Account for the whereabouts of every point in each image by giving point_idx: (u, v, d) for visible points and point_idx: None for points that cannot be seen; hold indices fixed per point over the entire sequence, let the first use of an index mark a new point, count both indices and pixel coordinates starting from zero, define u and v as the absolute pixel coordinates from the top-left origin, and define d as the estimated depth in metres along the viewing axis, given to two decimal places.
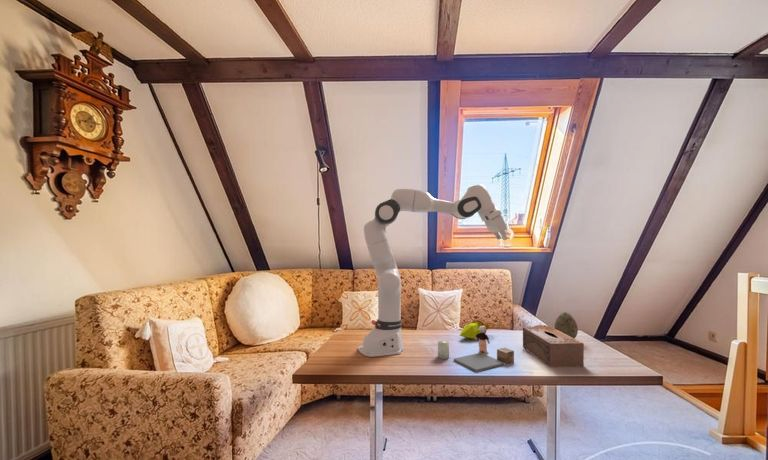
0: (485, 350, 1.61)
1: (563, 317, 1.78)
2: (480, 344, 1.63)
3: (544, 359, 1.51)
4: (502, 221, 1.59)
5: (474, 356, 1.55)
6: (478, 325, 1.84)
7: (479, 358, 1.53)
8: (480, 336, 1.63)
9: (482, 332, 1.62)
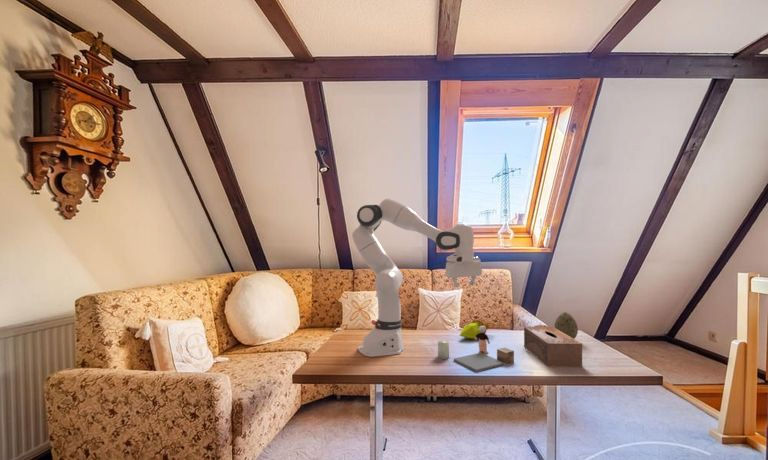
0: (485, 350, 1.61)
1: (563, 317, 1.78)
2: (480, 344, 1.63)
3: (542, 359, 1.51)
4: (450, 268, 1.60)
5: (474, 356, 1.55)
6: (478, 325, 1.84)
7: (479, 358, 1.53)
8: (480, 336, 1.63)
9: (482, 332, 1.62)
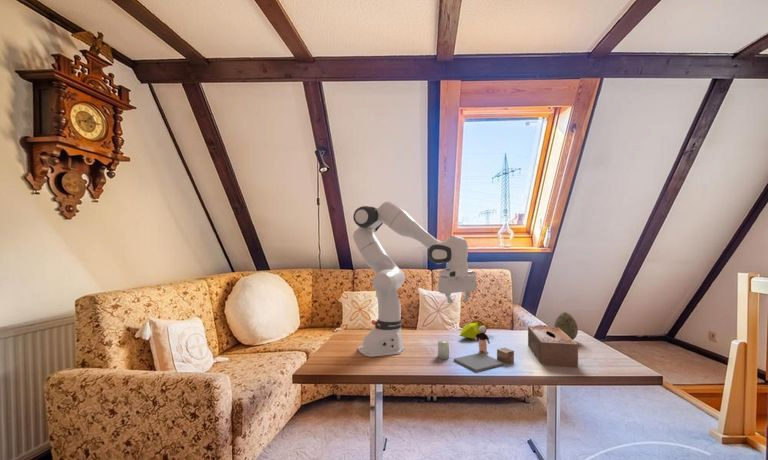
0: (485, 350, 1.61)
1: (563, 317, 1.78)
2: (480, 344, 1.63)
3: (538, 357, 1.53)
4: (442, 284, 1.52)
5: (474, 356, 1.55)
6: (478, 325, 1.84)
7: (479, 358, 1.53)
8: (480, 336, 1.63)
9: (482, 332, 1.62)
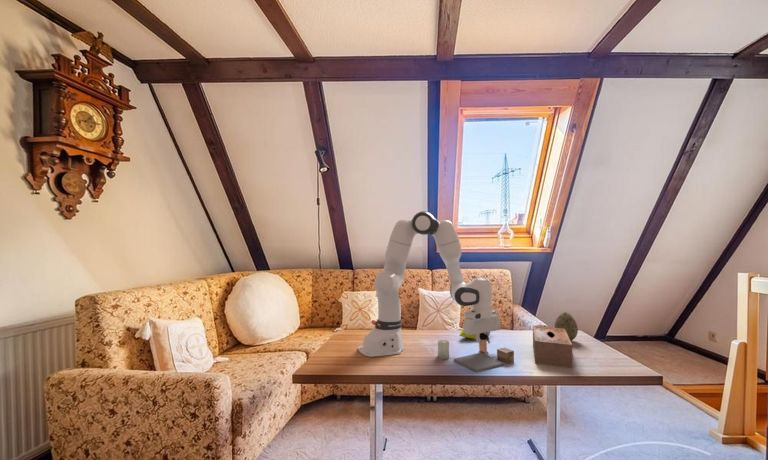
0: (485, 350, 1.61)
1: (563, 317, 1.78)
2: (480, 344, 1.63)
3: (534, 356, 1.55)
4: (468, 325, 1.57)
5: (474, 356, 1.55)
6: None
7: (479, 358, 1.53)
8: (480, 336, 1.63)
9: None
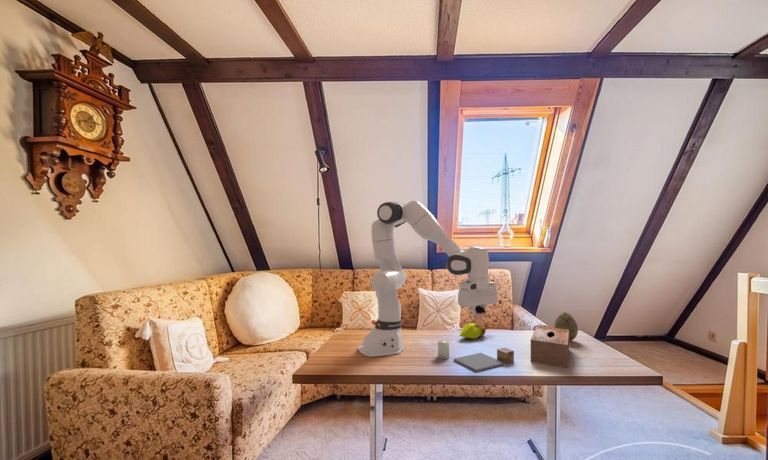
0: (481, 324, 1.48)
1: (563, 317, 1.78)
2: (476, 318, 1.50)
3: None
4: (463, 297, 1.45)
5: (474, 356, 1.55)
6: None
7: (479, 358, 1.53)
8: (476, 309, 1.50)
9: (479, 305, 1.49)
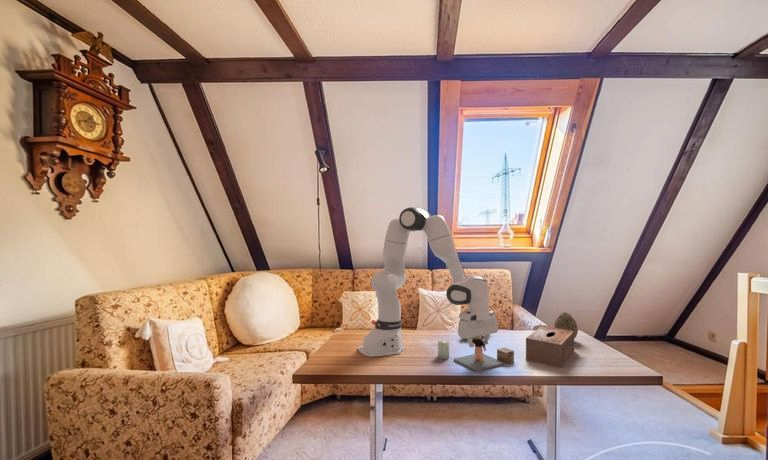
0: (481, 358, 1.48)
1: (563, 317, 1.78)
2: (476, 351, 1.50)
3: None
4: (463, 328, 1.44)
5: (474, 356, 1.55)
6: None
7: None
8: (476, 343, 1.50)
9: (478, 338, 1.49)
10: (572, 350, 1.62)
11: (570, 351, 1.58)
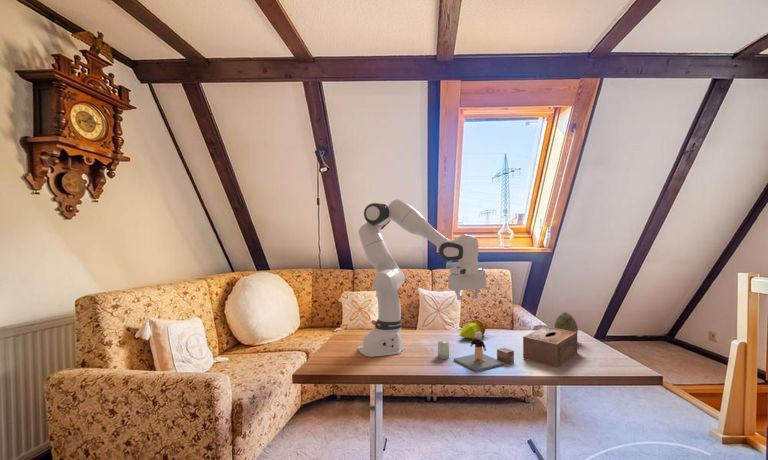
0: (481, 358, 1.48)
1: (563, 317, 1.78)
2: (476, 351, 1.50)
3: None
4: (453, 281, 1.55)
5: (474, 356, 1.55)
6: (477, 325, 1.85)
7: None
8: (476, 343, 1.50)
9: (478, 338, 1.49)
10: (574, 351, 1.60)
11: (571, 352, 1.57)
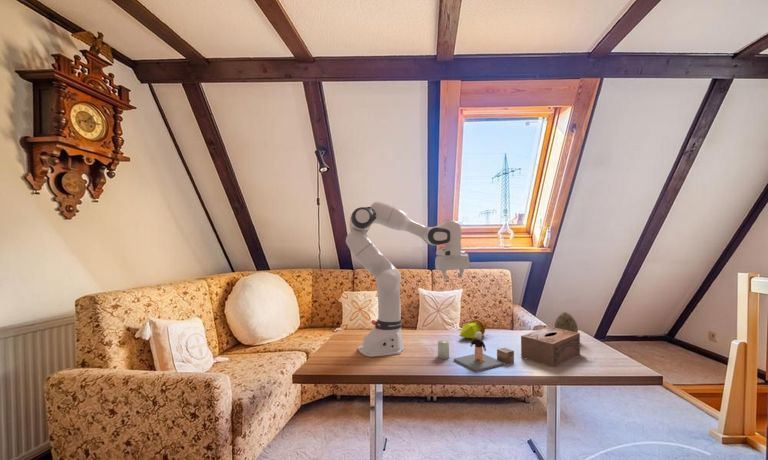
0: (481, 358, 1.48)
1: (563, 317, 1.78)
2: (476, 351, 1.50)
3: None
4: (439, 262, 1.72)
5: (474, 356, 1.55)
6: (477, 325, 1.85)
7: None
8: (476, 343, 1.50)
9: (478, 338, 1.49)
10: (576, 352, 1.59)
11: (571, 352, 1.56)
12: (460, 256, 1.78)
